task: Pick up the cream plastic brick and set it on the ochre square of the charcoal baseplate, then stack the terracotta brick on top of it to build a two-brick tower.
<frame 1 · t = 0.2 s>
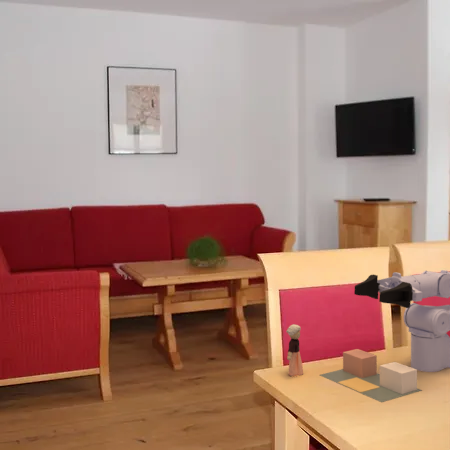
hand: (367, 293, 130), 21 cm above the table, tool horizontal, fingers open, 7 cm apart
baseplate: (368, 385, 132), on the table
grandmother figurine: (295, 377, 139), on the table
terracotta brick: (359, 372, 139), point 1 cm above the table, touching baseplate
cream brick: (398, 387, 129), point 1 cm above the table, touching baseplate
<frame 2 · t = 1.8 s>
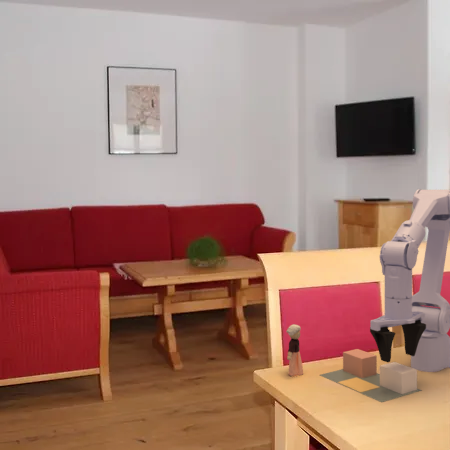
hand: (398, 357, 128), 7 cm above the table, tool pointing down, fingers open, 7 cm apart
nothing on the table moved.
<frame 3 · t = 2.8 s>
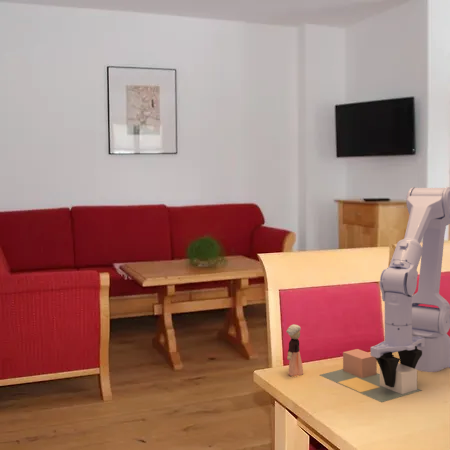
hand: (398, 383, 129), 2 cm above the table, tool pointing down, fingers closed on cream brick, 5 cm apart
cream brick: (398, 387, 129), point 1 cm above the table, touching baseplate, gripper
everything else where it was.
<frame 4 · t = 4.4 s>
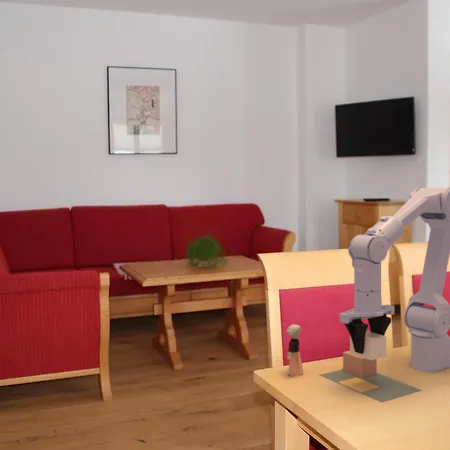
hand: (367, 350, 130), 9 cm above the table, tool pointing down, fingers closed on cream brick, 5 cm apart
cream brick: (367, 354, 130), point 8 cm above the table, touching gripper
everything else where it was.
when the fingers open (3 cm above the table, at t = 6.1 s): cream brick drops 1 cm, resting on baseplate.
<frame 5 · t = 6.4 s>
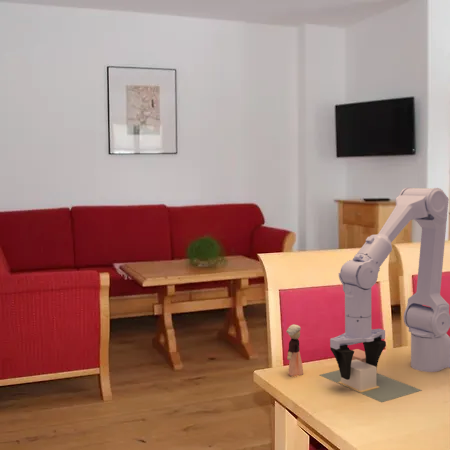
hand: (358, 374, 131), 3 cm above the table, tool pointing down, fingers open, 7 cm apart
cream brick: (358, 384, 131), point 1 cm above the table, touching baseplate
everything else where it was.
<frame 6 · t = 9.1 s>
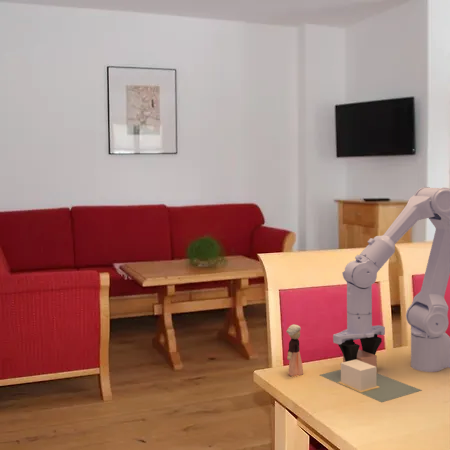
hand: (359, 368, 139), 2 cm above the table, tool pointing down, fingers closed on terracotta brick, 5 cm apart
terracotta brick: (359, 372, 139), point 1 cm above the table, touching baseplate, gripper
everything else where it was.
when the fingers open (8 cm above the table, at t = 11.6 s): terracotta brick drops 1 cm, resting on cream brick.
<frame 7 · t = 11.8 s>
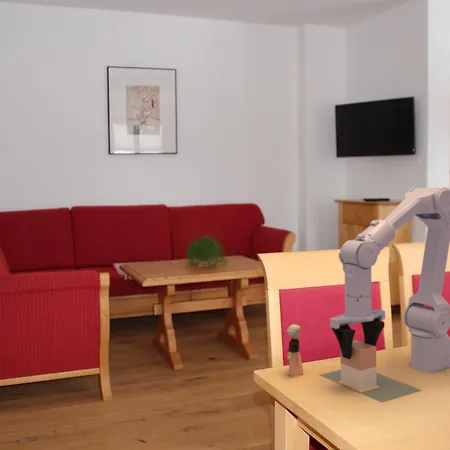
hand: (358, 355, 130), 8 cm above the table, tool pointing down, fingers open, 6 cm apart
terracotta brick: (358, 364, 130), point 5 cm above the table, touching cream brick
cream brick: (358, 384, 131), point 1 cm above the table, touching baseplate, terracotta brick
everything else where it was.
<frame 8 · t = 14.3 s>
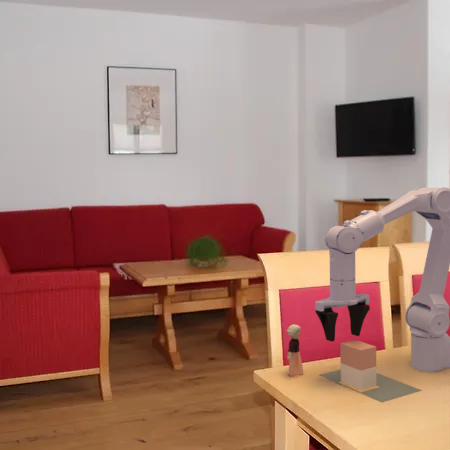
hand: (343, 337, 134), 10 cm above the table, tool pointing down, fingers open, 7 cm apart
nothing on the table moved.
at the end: cream brick 0.0 cm from the target spot on the baseplate, point 0.9 cm above the baseplate's base; terracotta brick 0.1 cm off-centre on the cream brick, point 4.5 cm above the cream brick's base; terracotta brick tilted 0° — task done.
